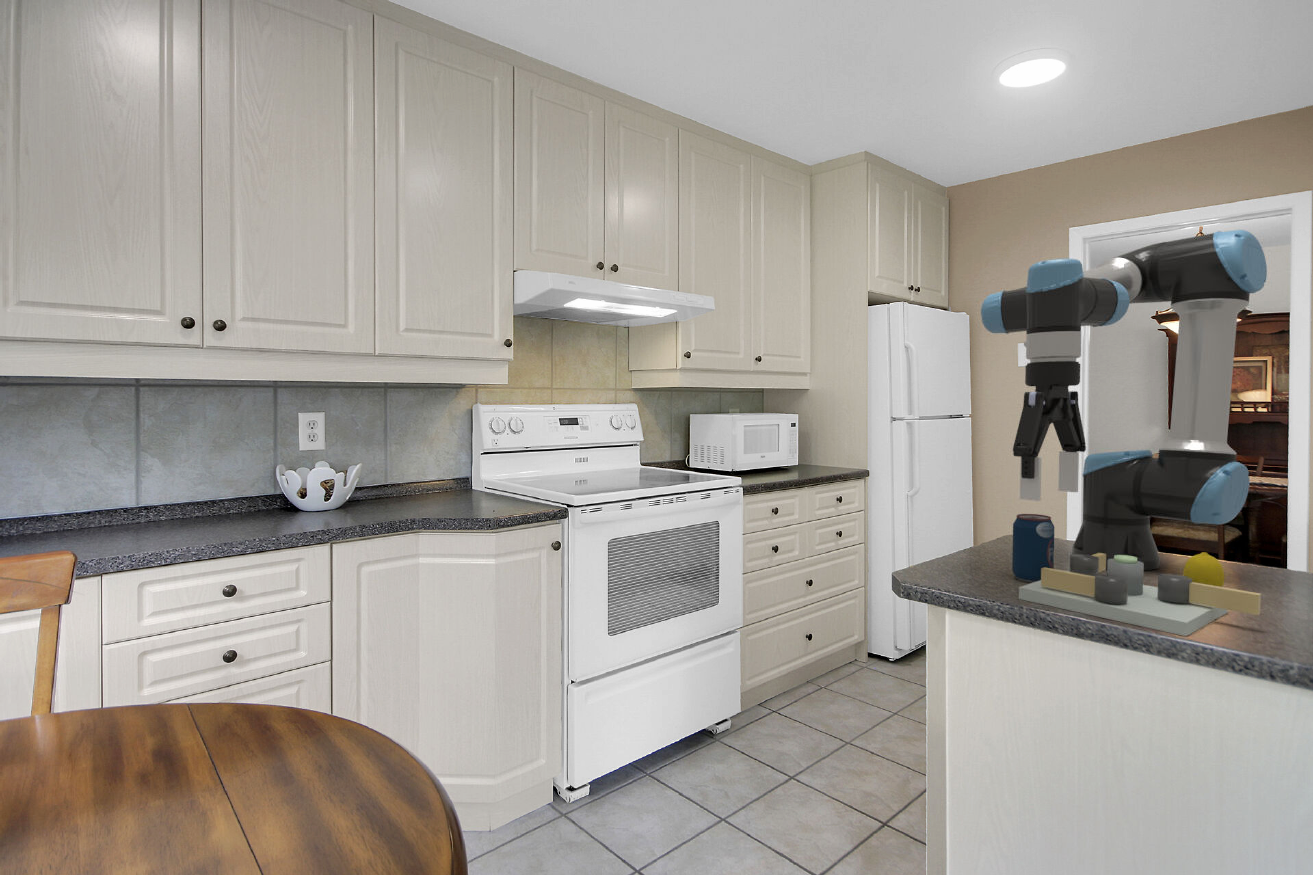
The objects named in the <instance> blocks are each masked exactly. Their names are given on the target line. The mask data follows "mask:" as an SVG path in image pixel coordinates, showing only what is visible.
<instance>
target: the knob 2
mask: <svg viewBox="0 0 1313 875" xmlns="http://www.w3.org/2000/svg"><path fill="white" fill-rule="evenodd" d="M1157 587H1158V593H1157V597H1158V598H1159V599H1161V600H1164V601H1168V602H1174V603H1195V604H1201V605H1206V606H1211V607H1216V608H1222V609H1227V610H1228V611H1233V612H1237V613H1243V614H1249V615H1252V616H1253V615H1254V616H1259V615H1261V601H1262V600H1261V598H1262V593H1257V592H1252V591H1248V590H1241V589H1235V588H1230V587H1224V586H1223V587H1219V586H1213V585H1207V584H1201V583H1195V582H1192V578H1190V577H1186V576H1183V574H1182V575H1181V574H1174V573H1160V574H1158V575H1157Z"/></svg>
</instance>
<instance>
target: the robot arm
mask: <svg viewBox="0 0 1313 875" xmlns="http://www.w3.org/2000/svg"><path fill="white" fill-rule="evenodd" d="M1266 260H1267V259H1266V256H1265V253H1264V249H1263V247H1262V245H1261V243H1260V242H1259V240H1258V238H1257V237H1256V236H1255V235H1254V234H1253V233H1252V232H1250V231H1248V230H1246V229H1237V230H1236V229H1235V230H1228V231H1219V230H1218V231H1216V232H1212V233H1207V234H1201V235H1197V236H1192V237H1186V238H1181V239H1176V240H1171V241H1170V240H1169V241H1163V242H1157V243H1153V244H1149V245H1146V246H1143V247H1140V248H1138V249H1135V250H1132V251H1128V252H1126V253H1123V254H1121V255H1118V256H1116V257H1115V256H1114V257H1112V258H1109V259H1106V260H1104V261H1102V262H1100V263H1099V264H1098V265H1097V266H1096V267H1095V268H1090V269H1088V270H1083V269H1084V268H1083V264H1082V262H1081V261H1080V260H1079V259H1076V258H1056V259H1047V260H1042V261H1038V262H1035V263H1033V264H1032V265H1030V267H1029V268H1028V271H1027V280H1026V286H1024V287H1020V288H1017V289H1012V290H1011V289H1010V290H1002V291H1000V292H995V293H991V294H989V295H987V296H986V298H985V299H983V301H982V304H981V309H980V315H981V322H982V325H983V326H984V328H985V329H986V330H987V331H988V332H989V333H992V334H1007V335H1008V334H1010V333H1011V334H1012V333H1022V332H1026V336H1025V337H1026V339H1025V342H1024V343H1023V346H1024V347H1025V348H1026V349H1025V351H1026V352H1025V359H1026V360H1028V361H1030V362H1027V364H1026V365H1025V379H1024V382H1025V383H1024V384H1025V385H1026V386H1027V387H1035V389H1034V391H1025V392H1024V394H1023V406H1022V411H1021V414H1020V418H1019V423H1018V426H1017V430H1016V435H1015V439H1014V443H1013V447H1012V452H1013V456H1014V457H1018V458H1019V457H1020V470H1019V471H1020V473H1019V474H1020V478H1019V479H1020V483H1019V484H1020V485H1019V499H1020V500H1026V501H1027V500H1028V501H1035V502H1039V501H1041V500H1042V499H1041V498H1042V497H1041V496H1042V495H1041V494H1042V489H1041V488H1042V457H1039V454H1040V451H1041V449H1042V447H1043V444H1044V442H1045V438H1046V437H1047V436H1046V435H1047V433H1048V431H1049V428H1050V425H1051V424H1053V427H1054V430H1055V433H1056V436H1057V438H1058V442H1059V444H1060V447H1061V451H1058V453H1059V455H1058V492H1068V493H1079V473H1080V472H1079V469H1080V467H1079V466H1080V464H1079V463H1080V452H1081V453H1085V452H1086V451H1087V446H1086V438H1085V432H1084V427H1083V423H1082V417H1081V416H1082V415H1081V412H1080V406H1079V392H1078V391H1075V390H1072V391H1069V386H1074V387H1075V386H1078V385H1080V383H1081V363H1080V362H1079V361H1077V359H1080V358H1081V357H1082V327H1087V326H1090V327H1092V328H1093V327H1094V328H1096V327H1107V326H1111V325H1114V324H1116V323H1117V322H1119V321H1120V320H1121V319H1122V318H1123V317H1124V316H1125V315H1126V314H1127V312H1128V309H1129V307H1130V304H1145V303H1146V304H1149V303H1151V304H1152V303H1163V302H1165V303H1166V302H1167V303H1168V302H1170V309H1171V310H1172V311H1173V312H1175V314H1177V315H1178V317H1179V320H1178V333H1177V345H1176V355H1175V358H1176V359H1175V368H1174V379H1173V380H1174V382H1173V395H1172V405H1171V406H1172V408H1171V419H1170V420H1171V421H1170V431H1169V432H1170V433H1169V439H1168V441H1167V442H1166V443H1164V444H1163V445H1162V446H1160V447H1159V448H1158V457H1154V454H1153V452H1152V450H1150V449H1143V450H1142V449H1141V450H1139V449H1138V450H1124V451H1123V450H1122V451H1111V452H1097V453H1091V454H1089V455H1087V456H1086V457H1085V459H1084V464H1083V471H1082V472H1083V473H1082V480H1083V481H1082V482H1083V483H1082V523H1081V525H1080V529H1079V530H1078V533H1077V536H1076V538H1075V541H1074V543H1073V545H1072V549H1071V550H1072V551H1071V555H1073V554H1083V555H1094V554H1097V553H1104V554H1106V569H1107V566H1108V559H1113V558H1114V556H1115V555H1128V556H1134V557H1136V558H1137V561H1140V562H1142V563H1144V571H1151V570H1156V569H1158V568H1160V554H1159V550H1158V548H1157V545H1156V542H1155V539H1154V537H1153V533H1152V531H1151V521H1150V520H1151V517H1152V518H1160V519H1166V520H1175V521H1182V522H1190V523H1194V524H1196V525H1198V524H1199V525H1200V524H1209V525H1223V524H1227V523H1229V522H1231V521H1232V520H1233V519H1235V518H1236V517H1237V515H1238V514H1239V513H1240V512H1241V510H1242V509H1243V506H1244V505H1245V503H1246V500H1247V498H1248V494H1249V489H1250V476H1249V474H1250V472H1249V470H1248V468H1247V466H1246V465H1245V464H1243V463H1240V462H1238V461H1237V452H1236V450H1234V449H1233V448H1231V446H1230V445H1229V444H1228V434H1229V433H1228V430H1229V422H1230V421H1229V420H1230V419H1229V418H1230V408H1231V394H1232V382H1233V371H1234V370H1233V369H1234V358H1235V347H1236V336H1237V324H1238V323H1237V322H1238V321H1237V320H1238V314H1239V313H1241V312H1242V311H1243V310H1244V309H1246V308H1247V307H1248V306H1249V304H1250V294H1256V293H1257V292H1259V291H1261V290H1262V289H1263V288H1264V286H1265V283H1266V280H1267V276H1268V275H1267V273H1268V272H1267V270H1268V269H1267V267H1268V266H1267V262H1266Z"/></svg>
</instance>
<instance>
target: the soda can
mask: <svg viewBox="0 0 1313 875" xmlns="http://www.w3.org/2000/svg"><path fill="white" fill-rule="evenodd" d="M1011 550H1012V553H1011V554H1012V555H1011V556H1012V561H1011V570H1012V573H1013V575H1014V577H1015V578H1016V579H1017V580H1019V581H1022V582H1027V583H1033V582H1037V581H1040V580H1041V568H1044V567H1046V568H1051V569H1055V566H1054V565H1055V564H1054V562H1055V525H1054V523H1053V521H1052V517H1051V516H1049V515H1046V514H1045V515H1044V514H1039V513H1037V514H1036V513H1021V514H1016V519H1015V520H1014V522H1013V524H1012V549H1011Z"/></svg>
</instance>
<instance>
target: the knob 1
mask: <svg viewBox="0 0 1313 875" xmlns="http://www.w3.org/2000/svg"><path fill="white" fill-rule="evenodd" d="M1106 569H1107V568H1106V554H1104V553H1097V554H1094V555H1083V554H1073V555H1072V554H1070V555H1069V571H1070V572H1073V573H1079V574H1084V575H1089V576H1095V575H1099V573H1100V572H1101V573H1102V572H1104V571H1106Z"/></svg>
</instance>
